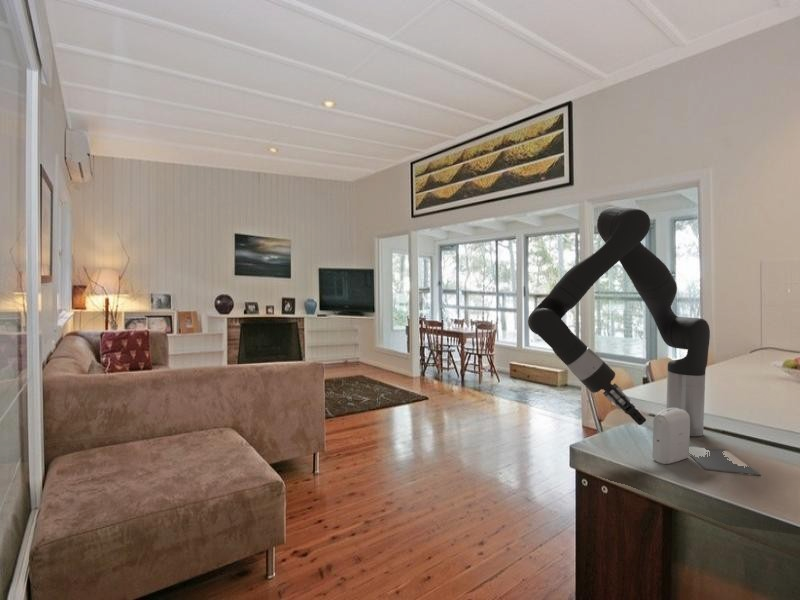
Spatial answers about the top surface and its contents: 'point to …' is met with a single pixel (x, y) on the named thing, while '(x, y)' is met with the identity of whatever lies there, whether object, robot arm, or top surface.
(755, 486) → the top surface
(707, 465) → the charcoal mat
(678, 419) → the photo printer
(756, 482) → the top surface
